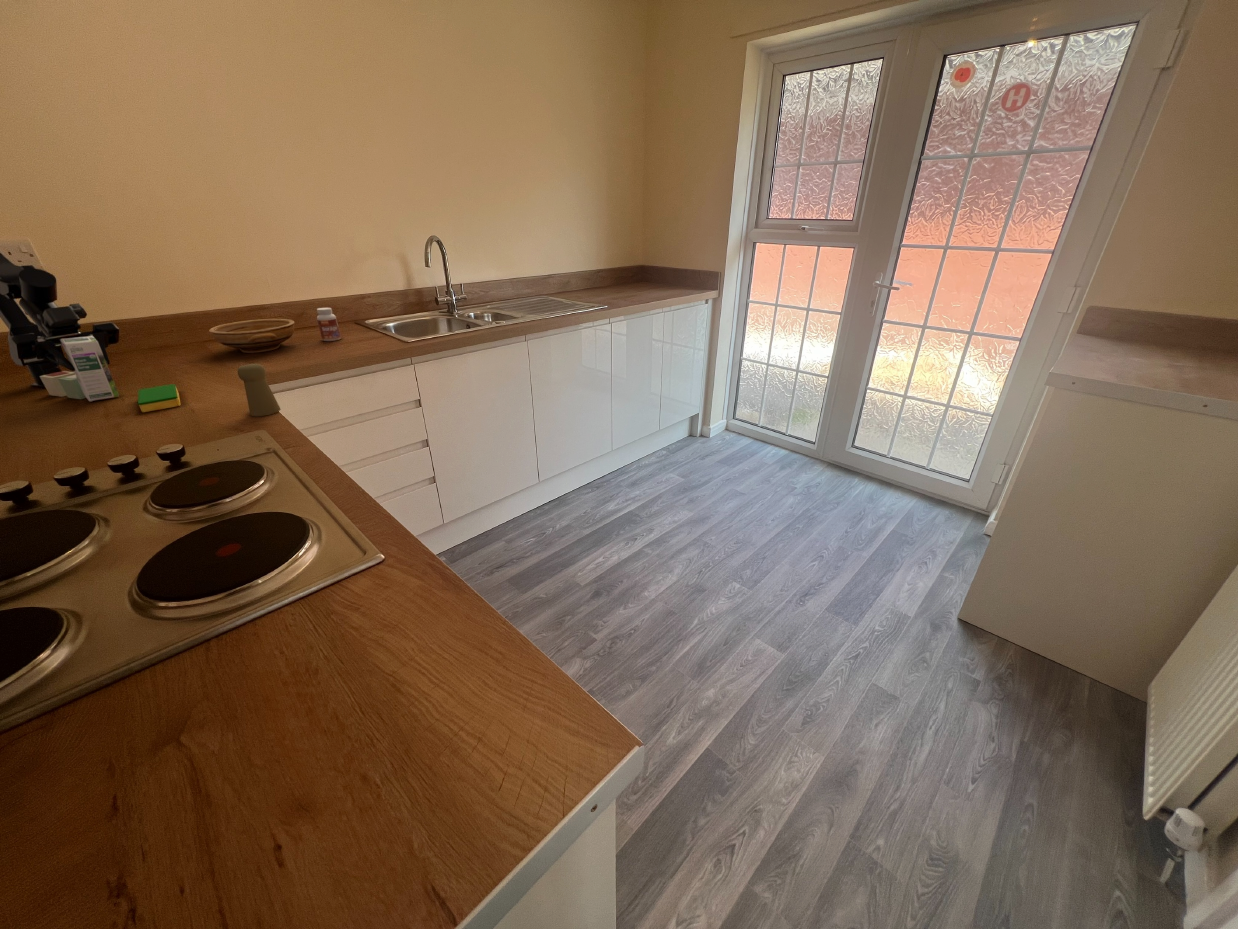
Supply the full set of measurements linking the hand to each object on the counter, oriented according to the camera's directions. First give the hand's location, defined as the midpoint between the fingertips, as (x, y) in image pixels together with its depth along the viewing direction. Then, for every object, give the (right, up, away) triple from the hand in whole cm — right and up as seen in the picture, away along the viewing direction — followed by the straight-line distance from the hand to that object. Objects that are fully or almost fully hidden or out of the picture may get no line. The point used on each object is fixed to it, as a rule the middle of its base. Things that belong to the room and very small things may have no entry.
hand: (91, 366), depth 122 cm
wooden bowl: (+5, +16, +50) cm, 53 cm away
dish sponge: (+16, -9, +1) cm, 18 cm away
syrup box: (-2, -7, +4) cm, 8 cm away
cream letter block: (-15, -5, +9) cm, 18 cm away
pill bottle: (+23, +22, +62) cm, 70 cm away
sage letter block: (-8, -6, +6) cm, 12 cm away
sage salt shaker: (+47, -12, -6) cm, 49 cm away
